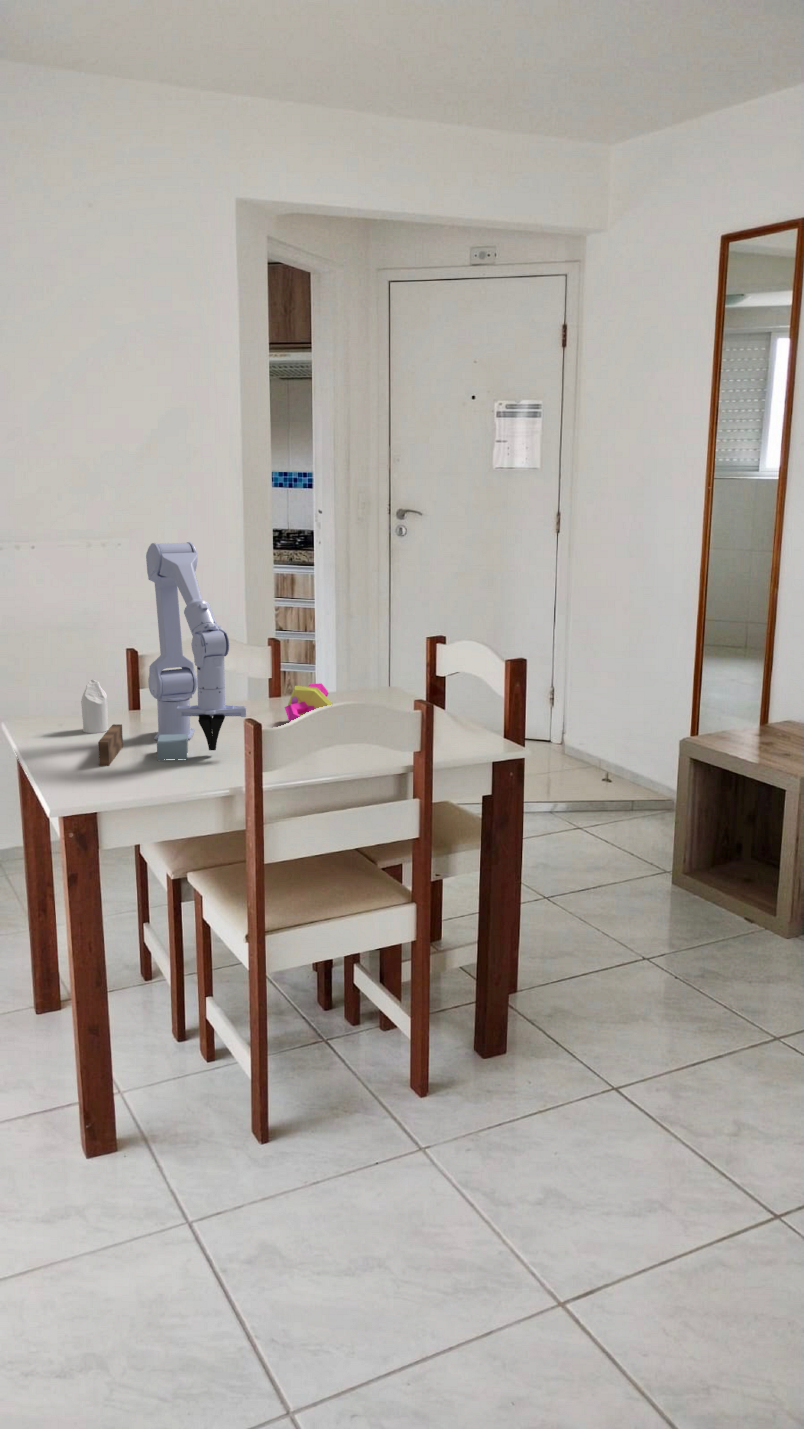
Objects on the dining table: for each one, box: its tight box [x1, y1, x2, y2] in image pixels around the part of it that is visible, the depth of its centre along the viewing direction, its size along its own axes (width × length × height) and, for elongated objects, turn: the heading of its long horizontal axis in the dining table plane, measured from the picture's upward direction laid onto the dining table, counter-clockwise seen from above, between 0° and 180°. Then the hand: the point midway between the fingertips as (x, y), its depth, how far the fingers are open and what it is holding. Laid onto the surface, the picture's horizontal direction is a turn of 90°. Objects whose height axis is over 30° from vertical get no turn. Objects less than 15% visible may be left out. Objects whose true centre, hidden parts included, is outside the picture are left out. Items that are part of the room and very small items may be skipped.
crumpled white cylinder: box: [80, 679, 109, 734], centre depth 261 cm, size 6×12×6 cm
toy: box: [284, 682, 333, 721], centre depth 273 cm, size 10×18×10 cm, turn 166°
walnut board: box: [97, 723, 124, 767], centre depth 239 cm, size 16×2×5 cm, turn 4°
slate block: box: [156, 734, 189, 760], centre depth 240 cm, size 8×6×4 cm
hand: (212, 749), depth 241 cm, fingers closed
